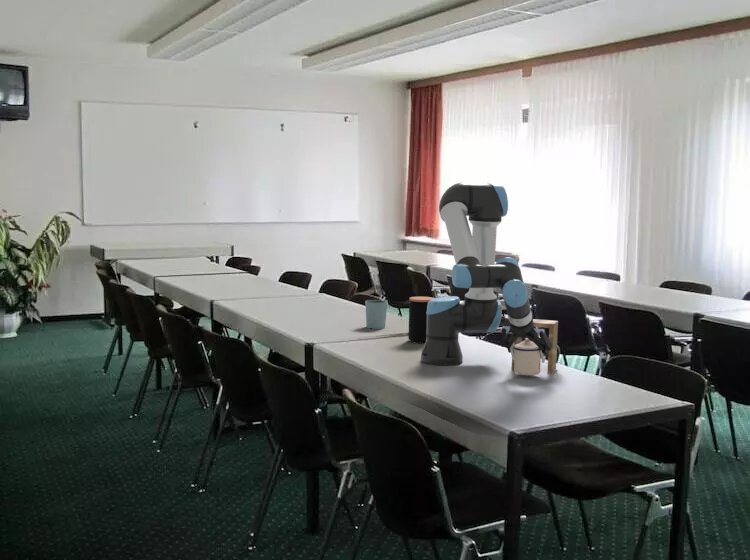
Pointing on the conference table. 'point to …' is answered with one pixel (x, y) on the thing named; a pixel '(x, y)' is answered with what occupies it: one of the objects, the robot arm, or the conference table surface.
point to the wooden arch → (552, 337)
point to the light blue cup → (376, 313)
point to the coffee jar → (418, 319)
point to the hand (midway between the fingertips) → (529, 358)
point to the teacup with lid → (527, 358)
